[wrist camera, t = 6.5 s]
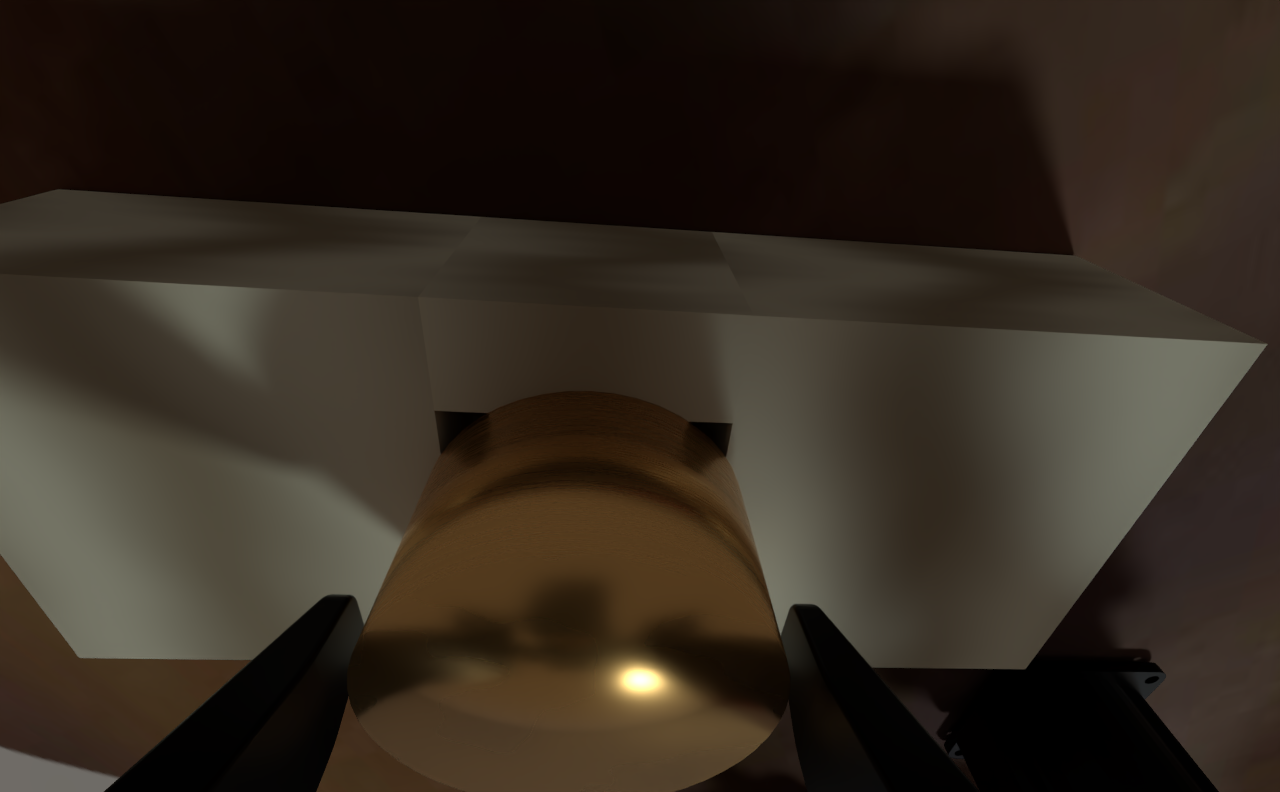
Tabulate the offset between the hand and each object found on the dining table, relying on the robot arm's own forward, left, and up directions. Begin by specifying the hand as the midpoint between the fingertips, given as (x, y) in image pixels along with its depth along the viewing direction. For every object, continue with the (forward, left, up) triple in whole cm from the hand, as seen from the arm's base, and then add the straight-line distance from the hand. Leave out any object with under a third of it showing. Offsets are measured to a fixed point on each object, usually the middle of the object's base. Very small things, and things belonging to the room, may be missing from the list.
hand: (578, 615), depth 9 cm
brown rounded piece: (0, 0, -6) cm, 6 cm away
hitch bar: (0, 0, -6) cm, 6 cm away
